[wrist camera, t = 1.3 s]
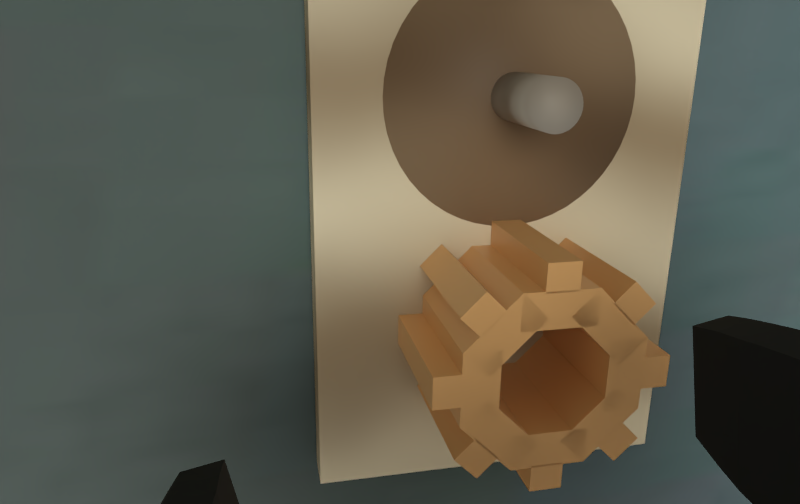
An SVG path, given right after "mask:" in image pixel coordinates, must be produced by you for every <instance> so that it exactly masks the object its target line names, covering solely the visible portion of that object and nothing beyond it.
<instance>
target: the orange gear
mask: <svg viewBox="0 0 800 504" xmlns="http://www.w3.org/2000/svg"><path fill="white" fill-rule="evenodd" d="M420 267H421V268H422V269H423V271H424V272H425V273H426V275H427V276H428V277H429V278H430V280H431V281H432V282H433V284H434V285H433V286H432V287H431V288H430V289H429V290H428V291H427V292H426V293H425V294H424V295H423V309H422V313H421V314H407V315H398V344H399V346H400V348H401V350H402V352H403V354H404V356H405V358H406V360H407V362H408V364H409V366H410V368H411V370H412V372H413V374H414V376H415V378H416V380H417V382H418V385H417V386H418V389H419V391H420V393H421V395H422V397H423V399H424V401H425V403H426V405H427V407H428V409H429V411H430V413H431V415H432V417H433V419H434V421H435V423H436V425H437V427H438V429H439V431H440V433H441V435H442V437H443V439H444V441H445V443H446V445H447V447H448V449H449V451H450V453H451V455H452V457H453V459H454V461H456V462H457V463H458V464H459V465H461V466H462V467H463V468H464V469H465V470H467V471H468V472H469V473H470V474H472V475H473V476H474V477H475V478H478V477H479V476H480V475H481V474H482V473H483V472H484V471H485V470H486V469H487V468H488V467H489V466H490V465H491V464H492V463H493V462H494V461H495V460H496V459H497V460H499V461H500V462H501V463H502V464H503V465H504V466H506V467H507V468H508V469H509V470H510V471H511V470H516V471H517V473H518V474H519V476H520V478H521V479H522V481H523V482H524V484H525V486H526V487H527V489H528V490H529V491H537V490H544V489H552V488H559V487H561V478H562V468H563V464H566V463H574V462H583V461H584V460H585V459H586V458H587V457H588V456H589V455H590V454H591V453H592V452H593V451H594V450H595V449H596V448H597V447H599V448H600V449H601V450H603V451H604V452H605V453H606V454H607V455H608V456H609V457H610V458H611V459H612V460H613V461H614V460H615V459H616V458H617V457H618V456H619V455H620V454H622V453H623V452H624V451H625V450H626V449H627V448H628V447H629V446H630V445H631V444H632V443H633V442H634V441H635V440H636V439H637V437H636V436H635V435H634V434H633V433H632V432H631V430H630V429H629V428H628V427H627V426H626V425H625V424H624V423H623V422H624V421H625V420H626V419H627V418H628V417H629V416H630V415H632V414H633V413H634V412H635V411H636V410H637V409H638V406H639V398H640V391H641V389H643V388H653V387H663V386H666V381H667V374H668V367H669V360H670V355H669V354H668V353H666V352H665V351H664V350H662V349H661V348H660V347H658V346H657V345H656V344H654V343H653V342H652V341H650V340H649V339H648V337H647V336H646V335H645V334H644V333H643V332H642V331H641V330H640V329H639V327H638V326H637V325H636V323H637V322H638V321H639V320H640V319H641V318H642V317H643V316H644V315H645V314H646V313H647V312H648V311H649V310H650V309H651V308H652V307H653V306H654V305H655V304H656V303H655V302H654V301H653V299H652V298H651V297H650V296H649V295H648V294H647V293H646V292H645V290H644V289H643V288H642V287H641V286H640V285H639V284H638V283H637V282H636V281H635V280H633V279H632V278H630V277H628V276H627V275H625V274H624V273H622V272H620V271H619V270H617V269H616V268H614V267H612V266H611V265H609V264H608V263H606V262H604V261H603V260H601V259H600V258H598V257H596V256H595V255H593V254H592V253H590V252H588V251H587V250H585V249H584V248H582V247H580V246H579V245H577V244H576V243H574V242H572V241H571V240H569V239H568V238H565V239H564V240H563V241H562V242H561V243H560V244H559V245H558V244H557V243H555V242H554V241H552V240H551V239H549V238H548V237H546V236H545V235H543V234H542V233H540V232H539V231H537V230H536V229H534V228H533V227H531V226H530V225H528V224H526V223H525V222H523V221H522V220H503V221H492V227H491V245H481V246H471V247H470V248H469V249H468V250H467V251H466V252H465V253H464V254H463V255H462V256H461V257H460V258H459V259H457V258H456V257H455V256H454V255H453V254H452V253H450V252H449V251H448V250H447V249H446V248H445V247H444V246H443V245H442V244H441V245H440V246H439V247H438V248H437V249H436V250H435V251H434V252H433V253H432V254H431V255H430V256H429V257H428V258H427V259H426V260H425V261H424V262H423V263H422V264H421V265H420ZM536 331H543V336H542V337H541V338H540V339H539V340H538V341H537V342H536V343H535V344H534V345H533V346H532V347H531V348H530V349H529V350H528V351H527V352H526V353H525V354H524V355H522V356H521V357H520V358H519V359H518V360H517V361H516V362H515V363H505V362H506V361H507V360H508V359H509V358H510V357H511V356H512V355H513V354H514V353H515V352H516V351H517V350H518V349H519V348H520V347H521V346H522V345H523V344H524V343H525V342H526V341H527V340H528V339H529V338H530V337H531V336H532V335H533V334H534V333H535V332H536Z"/></svg>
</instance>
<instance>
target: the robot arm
mask: <svg viewBox="0 0 800 504" xmlns="http://www.w3.org/2000/svg"><path fill="white" fill-rule="evenodd" d="M693 354H694V390H695V427H696V437H697V439H698V440H699V441H700V443H701V444H702V445H703V446H704V448H705V449H706V450H707V452H708V453H709V454H710V455H711V457H712V458H713V459H714V461H715V462H716V463H717V464H718V466H719V467H720V468H721V469H722V471H723V472H724V473H725V474H726V475H727V477H728V478H729V479H730V480H731V481H732V482H733V484H734V485H735V486H736V487H737V488H738V490H739V491H740V492H741V493H742V494H743V495H744V496H745V497H746V498H747V499H748V500H749V501H750V502H751V503H752V504H800V330H797V329H793V328H789V327H785V326H780V325H776V324H771V323H767V322H762V321H757V320H752V319H747V318H741V317H734V316H725V317H722V318H718V319H715V320H711V321H708V322H704V323H701V324H697V325H694V326H693ZM161 504H239V502H238V499H237V496H236V493H235V490H234V487H233V484H232V481H231V478H230V475H229V472H228V469H227V466H226V463H225V460H221V461H217V462H214V463H210V464H207V465H203V466H200V467H196V468H193V469H189V470H186V471H182V472H180V473H179V475H178V476H177V478H176V479H175V481H174V482H173V484H172V486H171V487H170V489H169V491H168V492H167V494H166V496H165V498H164V499H163V501H162V503H161Z"/></svg>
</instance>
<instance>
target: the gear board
mask: <svg viewBox="0 0 800 504" xmlns="http://www.w3.org/2000/svg"><path fill="white" fill-rule="evenodd" d="M705 5H706V0H304V11H305V47H306V83H307V119H308V155H309V191H310V227H311V263H312V299H313V335H314V371H315V407H316V443H317V465H318V471H319V477H320V483H321V484H323V483H331V482H339V481H347V480H355V479H363V478H371V477H379V476H387V475H395V474H403V473H412V472H420V471H428V470H436V469H444V468H452V467H460V466H461V465H459V464H458V463H457V462H456V461H454V459H453V457H452V455H451V453H450V451H449V449H448V447H447V445H446V443H445V441H444V439H443V437H442V435H441V433H440V431H439V429H438V427H437V425H436V423H435V421H434V419H433V417H432V415H431V413H430V411H429V409H428V407H427V405H426V403H425V401H424V399H423V397H422V395H421V393H420V391H419V389H418V386H417V385H418V382H417V380H416V378H415V376H414V374H413V372H412V370H411V368H410V366H409V364H408V362H407V360H406V358H405V356H404V354H403V352H402V350H401V348H400V346H399V344H398V315H407V314H421V313H422V309H423V295H424V294H425V293H426V292H427V291H428V290H429V289H430V288H431V287H432V286H433V285H434V284H433V282H432V281H431V280H430V278H429V277H428V276H427V275H426V273H425V272H424V271H423V269H422V268H421V267H420V265H421V264H422V263H423V262H424V261H425V260H426V259H427V258H428V257H429V256H430V255H431V254H432V253H433V252H434V251H435V250H436V249H437V248H438V247H439V246H440V245H441V244H442V245H443V246H444V247H445V248H446V249H447V250H448V251H449V252H450V253H452V254H453V255H454V256H455V257H456V258H457V259H459V258H460V257H461V256H462V255H463V254H464V253H465V252H466V251H467V250H468V249H469V248H470V247H471V246H481V245H491V227H492V221H503V220H522V221H523V222H525V223H526V224H528V225H530V226H531V227H533V228H534V229H536V230H537V231H539V232H540V233H542V234H543V235H545V236H546V237H548V238H549V239H551V240H552V241H554V242H555V243H557V244H558V245H559V244H560V243H561V242H562V241H563V240H564V239H565V238H568V239H569V240H571V241H572V242H574V243H576V244H577V245H579V246H580V247H582V248H584V249H585V250H587V251H588V252H590V253H592V254H593V255H595V256H596V257H598V258H600V259H601V260H603V261H604V262H606V263H608V264H609V265H611V266H612V267H614V268H616V269H617V270H619V271H620V272H622V273H624V274H625V275H627V276H628V277H630V278H632V279H633V280H635V281H636V282H637V283H638V284H639V285H640V286H641V287H642V288H643V289H644V290H645V292H646V293H647V294H648V295H649V296H650V297H651V298H652V299H653V301H654V302H655V303H656V304H655V305H654V306H653V307H652V308H651V309H650V310H649V311H648V312H647V313H646V314H645V315H644V316H643V317H642V318H641V319H640V320H639V321H638V322H637V323H636V325H637V326H638V327H639V329H640V330H641V331H642V332H643V333H644V334H645V335H646V336H647V337H648V339H649V340H650V341H652V342H653V343H654V344H656V345H657V346H658V343H659V336H660V329H661V322H662V315H663V307H664V300H665V293H666V286H667V279H668V271H669V264H670V257H671V250H672V243H673V235H674V228H675V221H676V214H677V207H678V199H679V192H680V185H681V178H682V171H683V163H684V156H685V149H686V142H687V135H688V127H689V120H690V113H691V106H692V99H693V91H694V84H695V77H696V70H697V63H698V55H699V48H700V41H701V34H702V27H703V19H704V12H705ZM542 336H543V331H536V332H535V333H534V334H533V335H532V336H531V337H530V338H529V339H528V340H527V341H526V342H525V343H524V344H523V345H522V346H521V347H520V348H519V349H518V350H517V351H516V352H515V353H514V354H513V355H512V356H511V357H510V358H509V359H508V360H507V361H506V362H505V363H515V362H516V361H517V360H518V359H519V358H520V357H521V356H522V355H524V354H525V353H526V352H527V351H528V350H529V349H530V348H531V347H532V346H533V345H534V344H535V343H536V342H537V341H538V340H539V339H540V338H541V337H542ZM651 394H652V388H643V389H641V391H640V398H639V406H638V409H637V410H636V411H635V412H634V413H633V414H632V415H630V416H629V417H628V418H627V419H626V420H625V421H624V422H623V423H624V424H625V425H626V426H627V427H628V428H629V429H630V430H631V432H632V433H633V434H634V435H635V436H636V437H637V439H636V440H635V441H634V442H633V443H632V444H631V445H638V444H645V437H646V430H647V423H648V415H649V408H650V401H651ZM597 449H600V448H599V447H597V448H596V449H595V450H597ZM494 462H500V461H499V460H497V459H496V460H495V461H494Z"/></svg>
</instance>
